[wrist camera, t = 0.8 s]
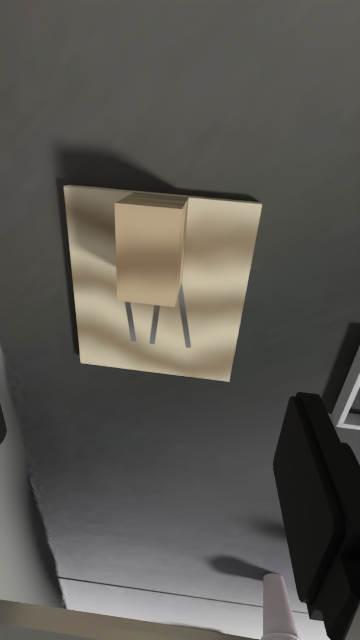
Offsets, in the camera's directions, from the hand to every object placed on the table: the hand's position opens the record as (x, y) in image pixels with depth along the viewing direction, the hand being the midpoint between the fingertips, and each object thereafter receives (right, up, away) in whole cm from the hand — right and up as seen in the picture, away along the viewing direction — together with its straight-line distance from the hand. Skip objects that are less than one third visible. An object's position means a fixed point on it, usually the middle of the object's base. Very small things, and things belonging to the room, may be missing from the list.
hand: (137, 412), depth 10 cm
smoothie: (+19, -46, +50) cm, 71 cm away
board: (-1, +6, +25) cm, 25 cm away
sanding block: (-1, +11, +21) cm, 23 cm away
